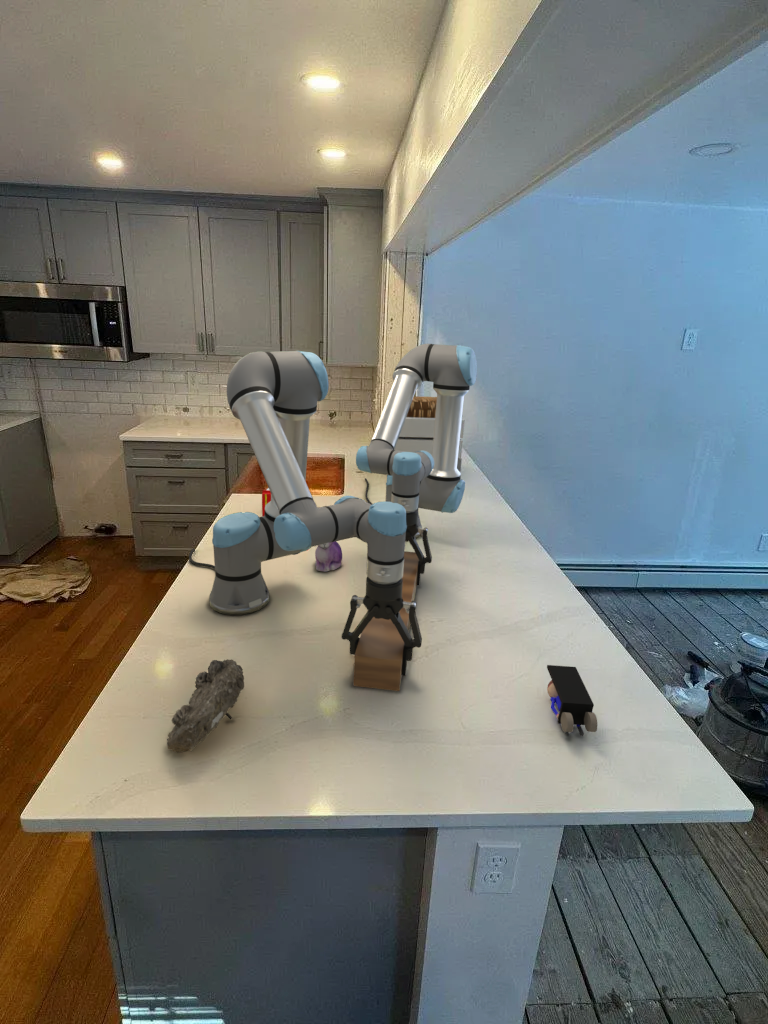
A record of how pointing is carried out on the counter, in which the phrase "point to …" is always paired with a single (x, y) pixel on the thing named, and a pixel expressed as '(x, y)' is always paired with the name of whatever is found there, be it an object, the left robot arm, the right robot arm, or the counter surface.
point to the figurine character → (570, 699)
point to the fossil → (206, 705)
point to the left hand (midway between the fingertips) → (380, 669)
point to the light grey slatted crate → (422, 428)
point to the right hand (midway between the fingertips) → (400, 581)
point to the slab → (385, 640)
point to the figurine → (328, 556)
